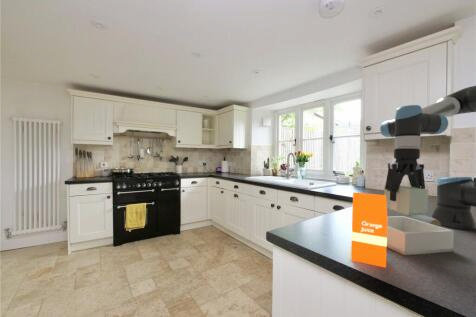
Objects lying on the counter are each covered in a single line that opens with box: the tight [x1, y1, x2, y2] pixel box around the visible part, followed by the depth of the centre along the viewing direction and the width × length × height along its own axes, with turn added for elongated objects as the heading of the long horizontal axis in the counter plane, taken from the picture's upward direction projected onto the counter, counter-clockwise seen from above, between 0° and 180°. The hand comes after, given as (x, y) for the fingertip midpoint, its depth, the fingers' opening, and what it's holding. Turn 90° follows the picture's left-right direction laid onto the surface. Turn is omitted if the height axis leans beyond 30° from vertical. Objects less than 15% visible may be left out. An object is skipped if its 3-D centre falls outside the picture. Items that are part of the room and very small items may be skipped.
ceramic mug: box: [410, 215, 442, 227], centre depth 90 cm, size 11×8×8 cm
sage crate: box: [383, 184, 429, 216], centre depth 80 cm, size 8×10×9 cm
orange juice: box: [350, 192, 389, 268], centre depth 66 cm, size 8×9×20 cm
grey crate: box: [387, 215, 455, 256], centre depth 80 cm, size 20×18×7 cm
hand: (404, 209), depth 80 cm, fingers closed on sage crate, 8 cm apart
